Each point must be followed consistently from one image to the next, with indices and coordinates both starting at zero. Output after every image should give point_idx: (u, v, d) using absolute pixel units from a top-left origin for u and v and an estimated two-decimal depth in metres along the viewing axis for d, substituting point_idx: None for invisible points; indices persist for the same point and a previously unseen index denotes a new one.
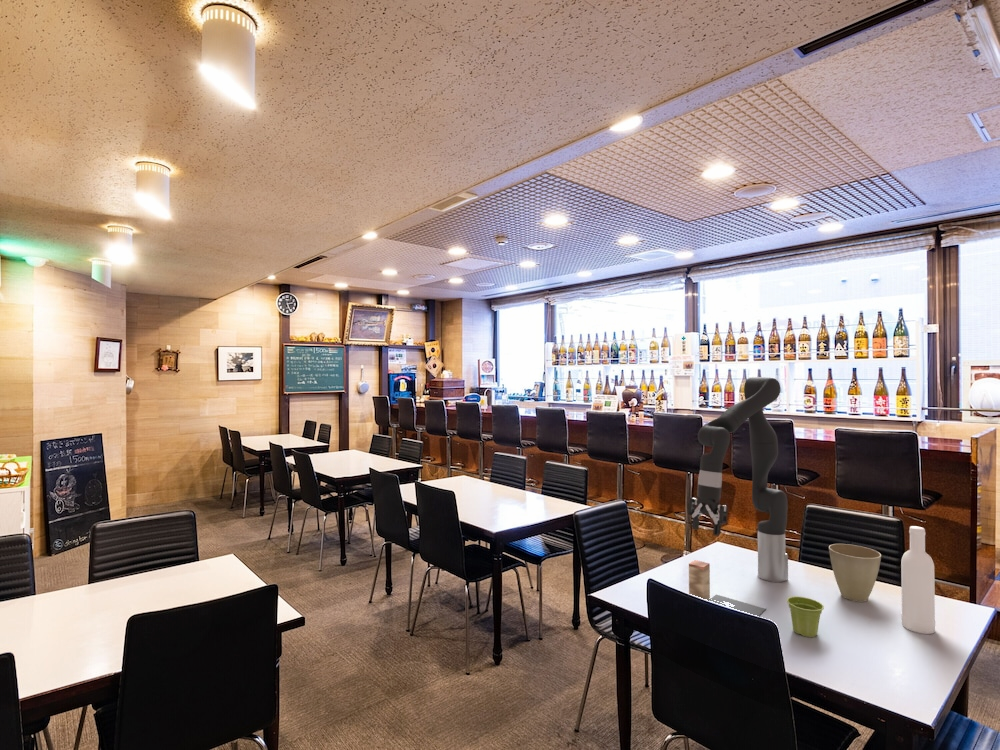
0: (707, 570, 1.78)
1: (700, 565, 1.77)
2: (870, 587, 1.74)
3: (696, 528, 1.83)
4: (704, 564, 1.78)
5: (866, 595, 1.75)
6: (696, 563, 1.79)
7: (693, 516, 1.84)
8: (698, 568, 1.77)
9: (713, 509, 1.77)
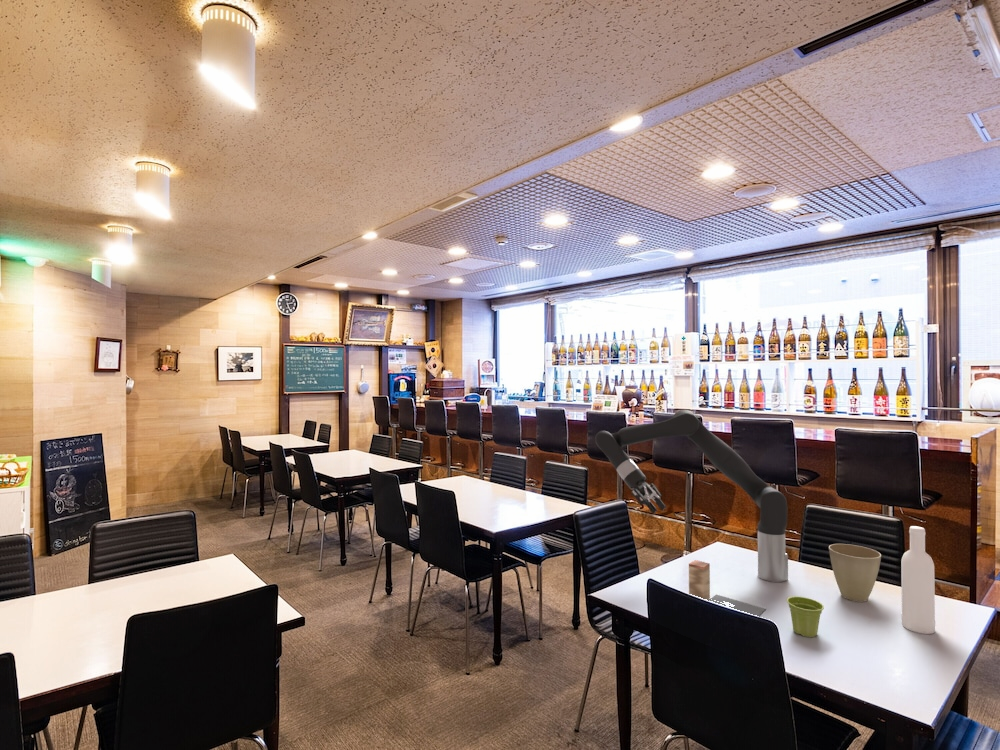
0: (707, 570, 1.78)
1: (700, 565, 1.77)
2: (870, 587, 1.74)
3: (663, 508, 1.96)
4: (704, 564, 1.78)
5: (866, 595, 1.75)
6: (696, 563, 1.79)
7: None
8: (698, 568, 1.77)
9: None
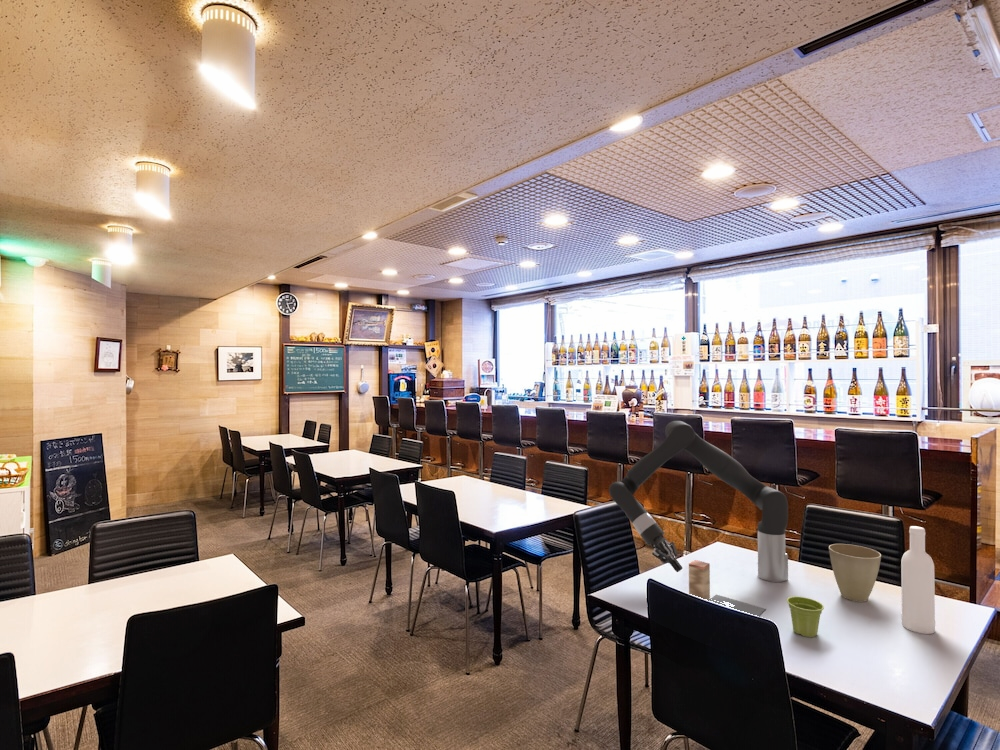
0: (707, 570, 1.78)
1: (700, 565, 1.77)
2: (870, 587, 1.74)
3: None
4: (704, 564, 1.78)
5: (866, 595, 1.75)
6: (696, 563, 1.79)
7: None
8: (698, 568, 1.77)
9: None
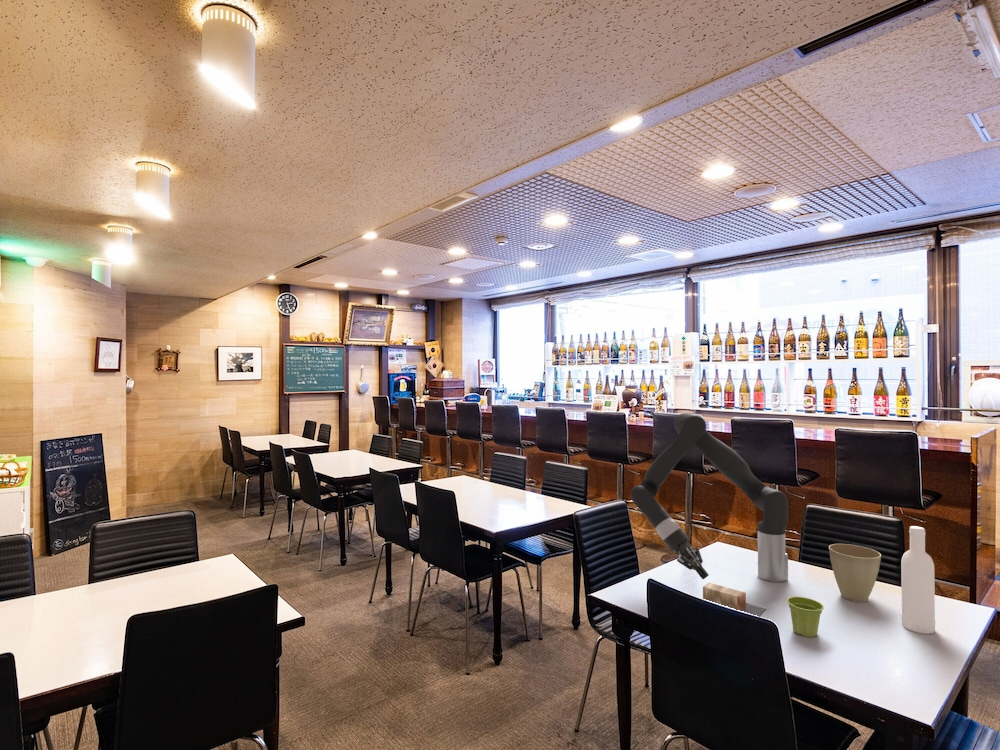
0: None
1: (741, 607, 1.68)
2: (870, 587, 1.74)
3: None
4: (743, 607, 1.69)
5: (866, 595, 1.75)
6: (742, 600, 1.69)
7: None
8: (737, 607, 1.68)
9: None
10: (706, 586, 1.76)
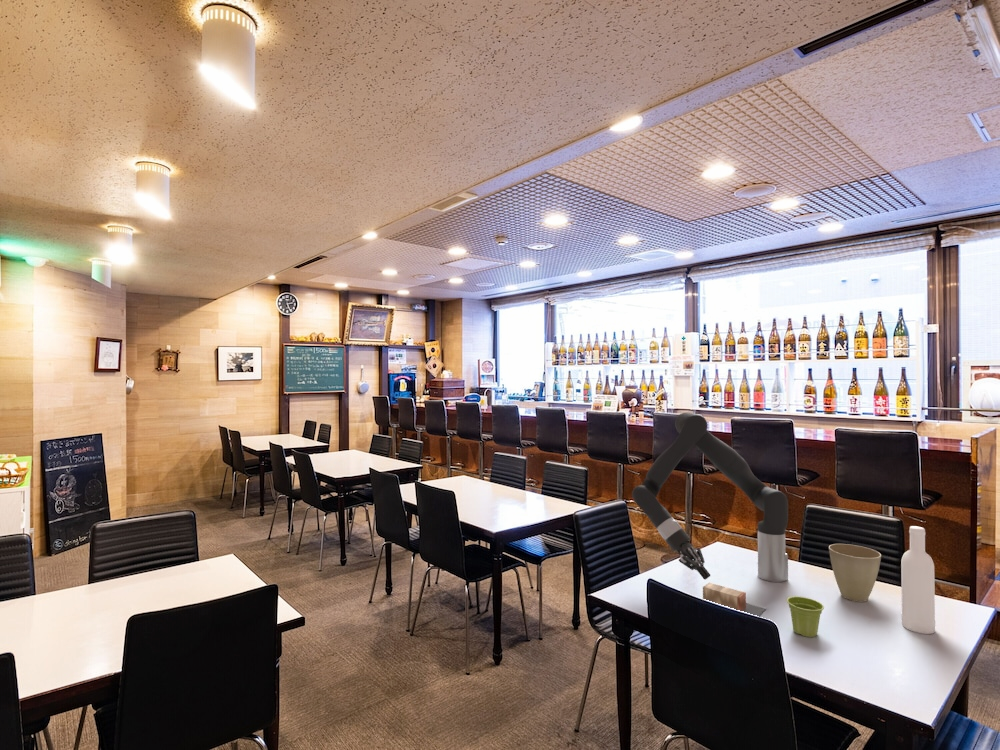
0: None
1: (741, 607, 1.68)
2: (870, 587, 1.74)
3: None
4: (743, 607, 1.69)
5: (866, 595, 1.75)
6: (742, 600, 1.69)
7: None
8: (737, 607, 1.68)
9: None
10: (706, 586, 1.76)
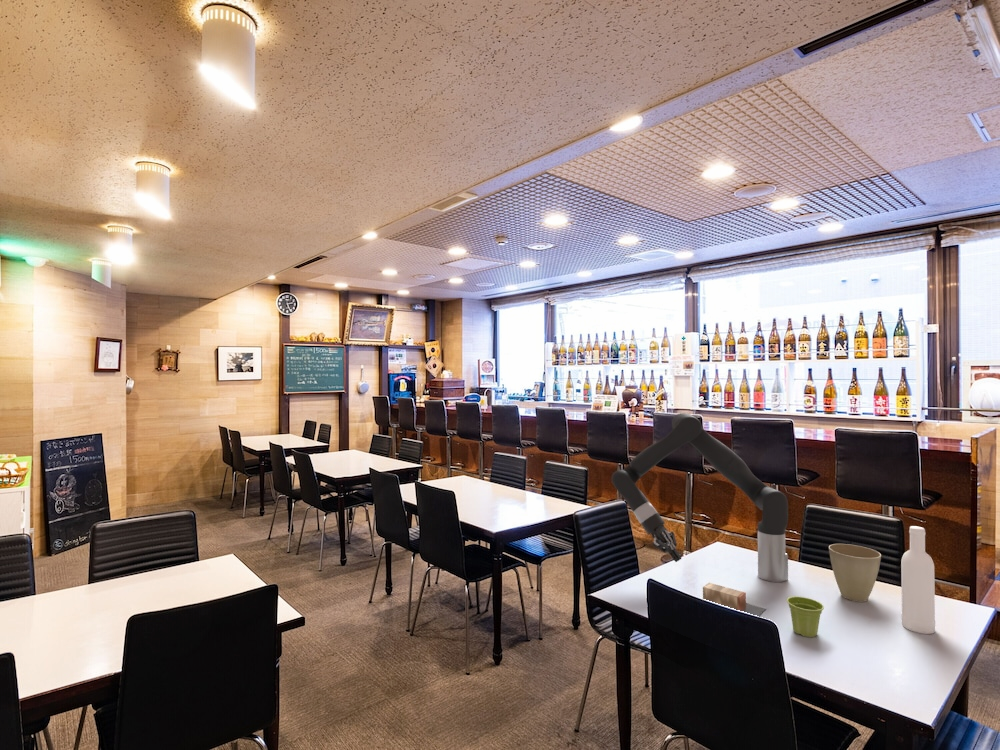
0: None
1: (741, 607, 1.68)
2: (870, 587, 1.74)
3: None
4: (743, 607, 1.69)
5: (866, 595, 1.75)
6: (742, 600, 1.69)
7: None
8: (737, 607, 1.68)
9: None
10: (706, 586, 1.76)
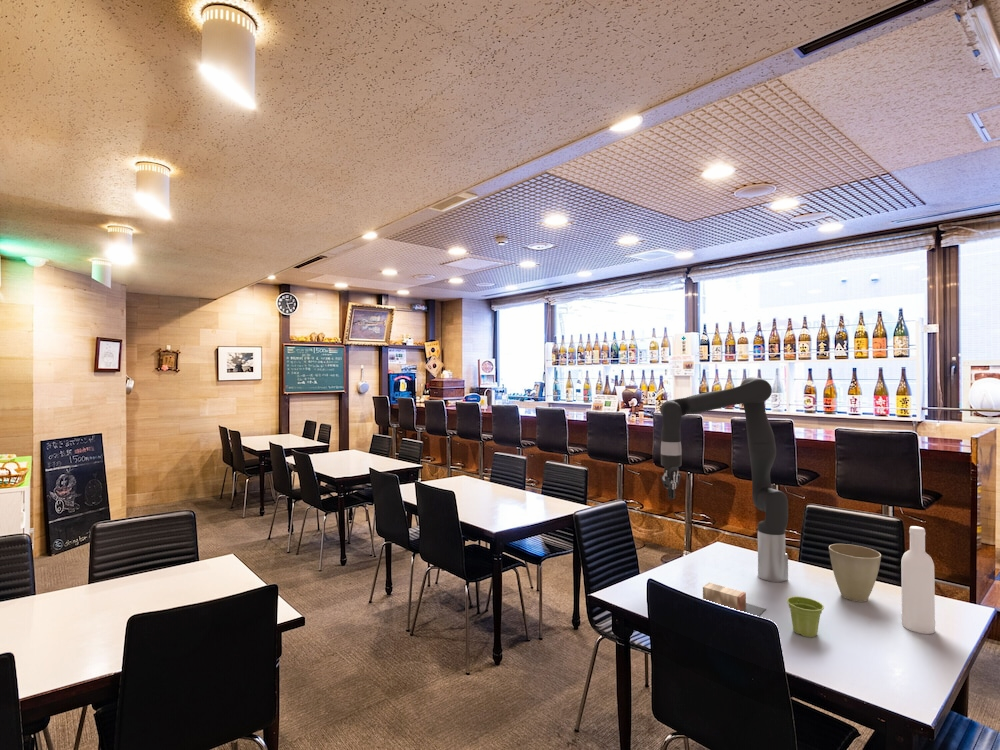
0: None
1: (741, 607, 1.68)
2: (870, 587, 1.74)
3: None
4: (743, 607, 1.69)
5: (866, 595, 1.75)
6: (742, 600, 1.69)
7: None
8: (737, 607, 1.68)
9: None
10: (706, 586, 1.76)
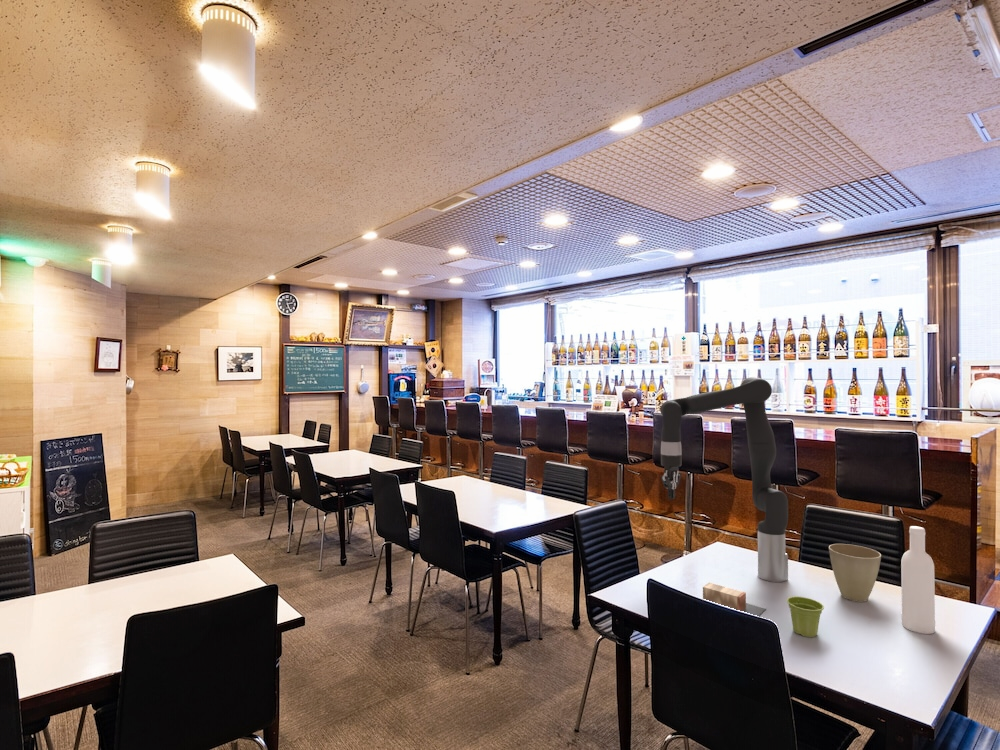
0: None
1: (741, 607, 1.68)
2: (870, 587, 1.74)
3: None
4: (743, 607, 1.69)
5: (866, 595, 1.75)
6: (742, 600, 1.69)
7: None
8: (737, 607, 1.68)
9: None
10: (706, 586, 1.76)
